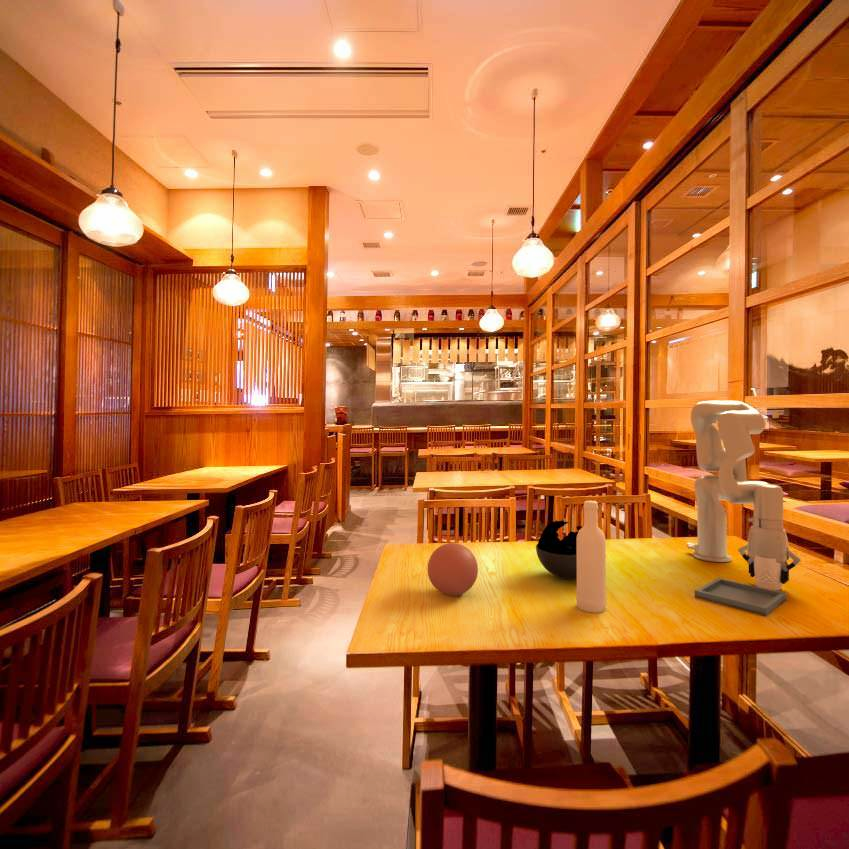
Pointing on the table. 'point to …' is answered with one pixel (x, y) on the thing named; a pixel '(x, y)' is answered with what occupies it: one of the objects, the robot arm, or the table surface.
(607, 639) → the table surface
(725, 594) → the serving tray
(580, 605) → the bottle
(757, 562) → the white cup
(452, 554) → the brown rubber ball
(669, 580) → the table surface
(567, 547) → the bowl of black rocks
